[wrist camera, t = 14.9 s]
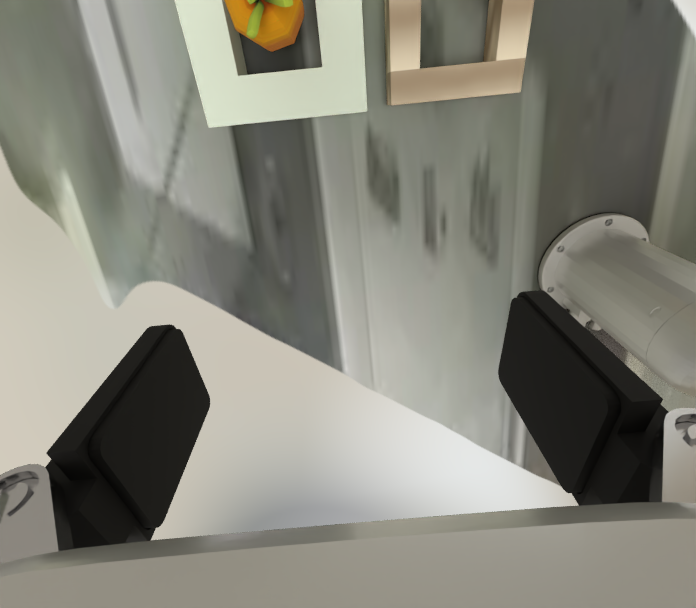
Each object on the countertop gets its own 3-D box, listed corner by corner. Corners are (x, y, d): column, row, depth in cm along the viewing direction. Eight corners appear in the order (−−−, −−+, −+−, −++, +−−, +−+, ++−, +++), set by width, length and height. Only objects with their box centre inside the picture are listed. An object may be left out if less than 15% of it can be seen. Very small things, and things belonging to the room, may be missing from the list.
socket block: (505, 92, 33) (520, 92, 30) (386, 104, 33) (391, 105, 30) (528, -79, 27) (548, -97, 24) (382, -63, 27) (387, -80, 24)
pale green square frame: (363, 110, 33) (367, 111, 30) (221, 124, 33) (208, 127, 30) (352, -101, 26) (355, -132, 22) (170, -81, 26) (145, -108, 23)
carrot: (321, 32, 30) (317, -18, 17) (281, 75, 31) (250, 59, 19) (281, -28, 28) (241, -135, 15) (240, 21, 29) (172, -38, 17)
